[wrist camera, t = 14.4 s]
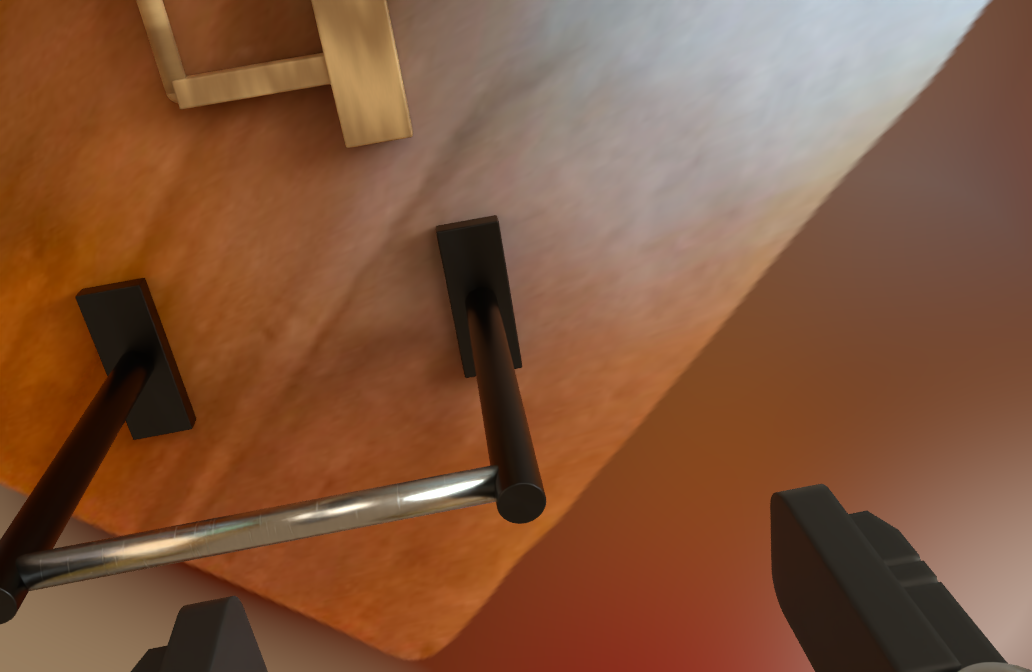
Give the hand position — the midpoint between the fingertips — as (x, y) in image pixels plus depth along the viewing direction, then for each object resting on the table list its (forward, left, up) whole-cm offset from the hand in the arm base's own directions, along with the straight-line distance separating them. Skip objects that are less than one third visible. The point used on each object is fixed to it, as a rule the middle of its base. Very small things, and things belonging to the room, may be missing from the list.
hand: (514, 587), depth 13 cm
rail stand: (+8, -8, -30) cm, 32 cm away
